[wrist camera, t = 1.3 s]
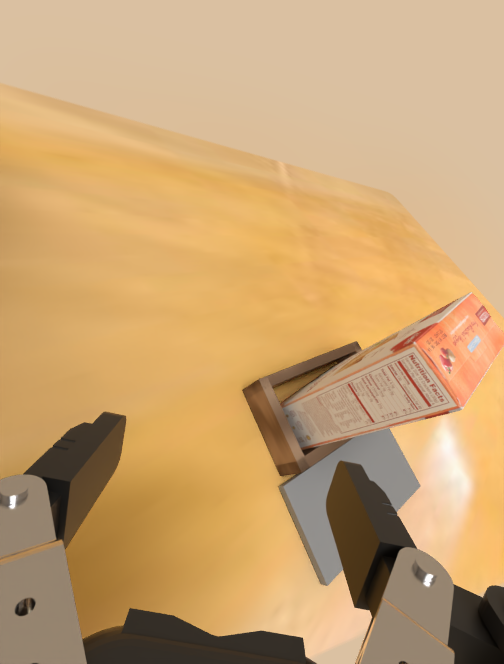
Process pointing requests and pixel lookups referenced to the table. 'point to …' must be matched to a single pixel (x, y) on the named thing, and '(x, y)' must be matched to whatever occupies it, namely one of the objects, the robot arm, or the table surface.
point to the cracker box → (399, 377)
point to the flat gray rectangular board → (313, 485)
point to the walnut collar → (275, 421)
